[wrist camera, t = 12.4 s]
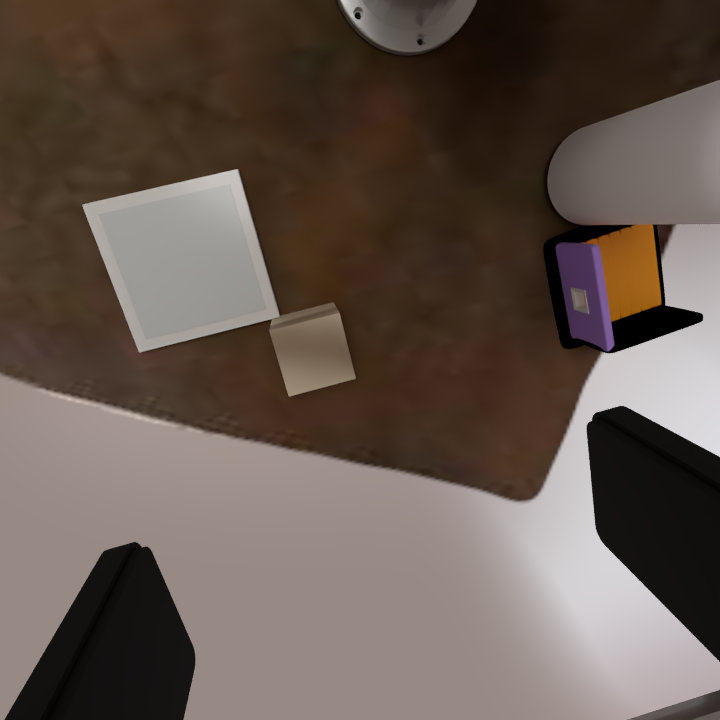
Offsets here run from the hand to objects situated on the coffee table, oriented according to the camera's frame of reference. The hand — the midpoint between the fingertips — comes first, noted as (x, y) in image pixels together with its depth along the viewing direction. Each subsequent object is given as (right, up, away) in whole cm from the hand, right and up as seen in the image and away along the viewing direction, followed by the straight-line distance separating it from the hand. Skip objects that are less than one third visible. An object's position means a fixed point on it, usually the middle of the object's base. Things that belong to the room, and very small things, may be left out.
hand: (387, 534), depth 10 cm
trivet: (-16, +12, +32) cm, 38 cm away
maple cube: (-4, +4, +30) cm, 31 cm away
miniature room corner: (+25, +12, +39) cm, 47 cm away
